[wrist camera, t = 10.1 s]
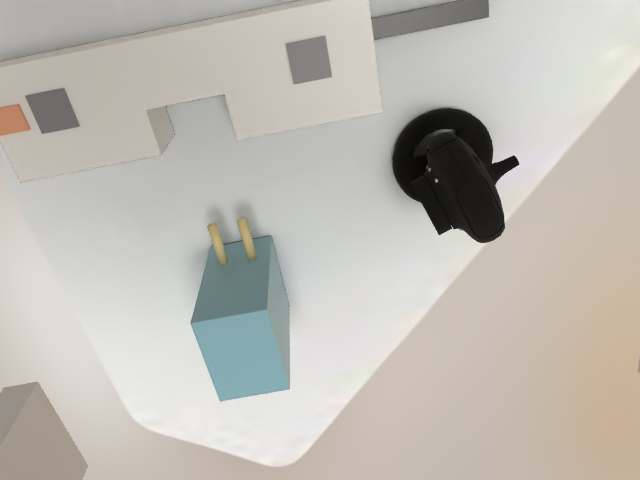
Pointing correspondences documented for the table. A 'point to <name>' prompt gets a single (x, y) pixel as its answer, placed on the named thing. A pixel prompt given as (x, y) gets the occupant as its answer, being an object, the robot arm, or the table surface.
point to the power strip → (201, 80)
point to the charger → (243, 317)
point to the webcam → (453, 173)
